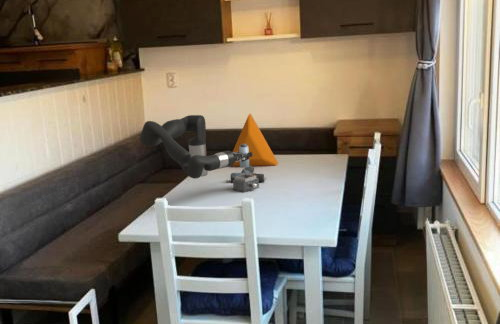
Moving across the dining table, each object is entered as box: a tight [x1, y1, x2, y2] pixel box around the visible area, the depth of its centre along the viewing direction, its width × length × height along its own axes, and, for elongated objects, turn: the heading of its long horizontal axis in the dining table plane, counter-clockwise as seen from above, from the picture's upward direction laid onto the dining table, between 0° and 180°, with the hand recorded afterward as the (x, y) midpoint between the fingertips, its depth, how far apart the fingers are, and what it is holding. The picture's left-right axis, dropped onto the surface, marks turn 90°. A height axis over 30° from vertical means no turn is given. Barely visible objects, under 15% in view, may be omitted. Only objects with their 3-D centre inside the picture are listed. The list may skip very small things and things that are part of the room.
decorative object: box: [229, 113, 279, 167], centre depth 322 cm, size 30×15×30 cm, turn 82°
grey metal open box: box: [232, 174, 260, 193], centre depth 274 cm, size 11×10×6 cm
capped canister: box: [239, 144, 249, 169], centre depth 271 cm, size 5×5×11 cm
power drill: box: [230, 165, 267, 183], centre depth 294 cm, size 5×19×20 cm
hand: (247, 153), depth 273 cm, fingers closed on capped canister, 4 cm apart
